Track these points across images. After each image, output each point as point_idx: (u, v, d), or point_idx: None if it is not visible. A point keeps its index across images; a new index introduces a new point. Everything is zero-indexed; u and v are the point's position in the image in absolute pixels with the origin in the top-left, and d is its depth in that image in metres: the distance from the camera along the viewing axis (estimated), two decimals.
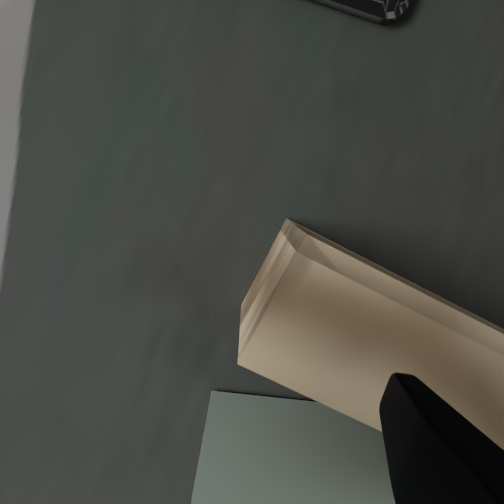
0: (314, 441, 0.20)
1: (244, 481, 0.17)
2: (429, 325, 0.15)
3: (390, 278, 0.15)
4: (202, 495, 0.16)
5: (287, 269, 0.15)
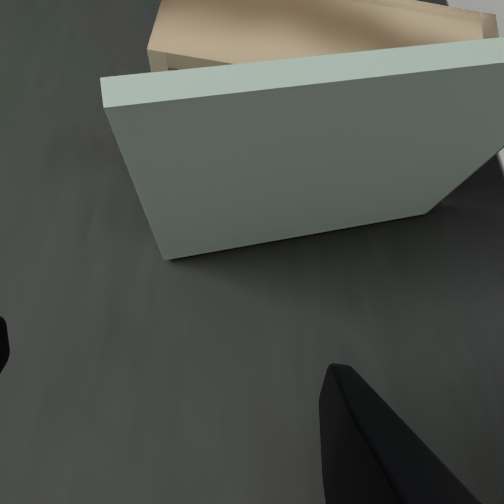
0: None
1: None
2: None
3: None
4: None
5: None
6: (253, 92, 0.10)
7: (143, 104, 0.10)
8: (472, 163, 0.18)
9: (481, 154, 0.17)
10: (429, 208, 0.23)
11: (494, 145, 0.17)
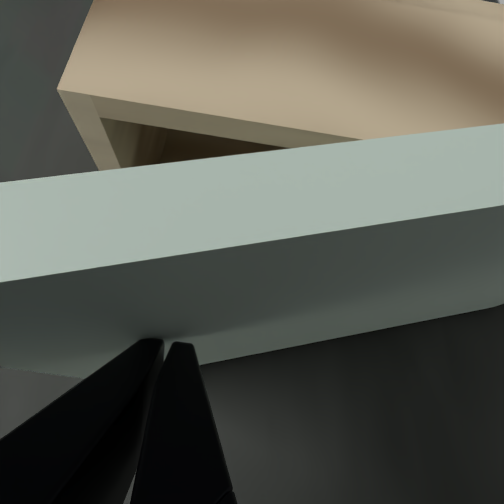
0: None
1: None
2: None
3: None
4: None
5: None
6: (214, 251, 0.04)
7: None
8: None
9: None
10: (502, 303, 0.16)
11: None
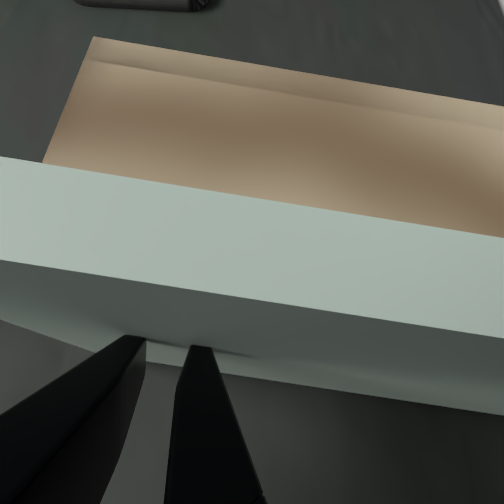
0: None
1: None
2: (324, 106, 0.10)
3: (237, 63, 0.10)
4: None
5: (75, 86, 0.09)
6: (149, 284, 0.03)
7: None
8: None
9: None
10: None
11: None
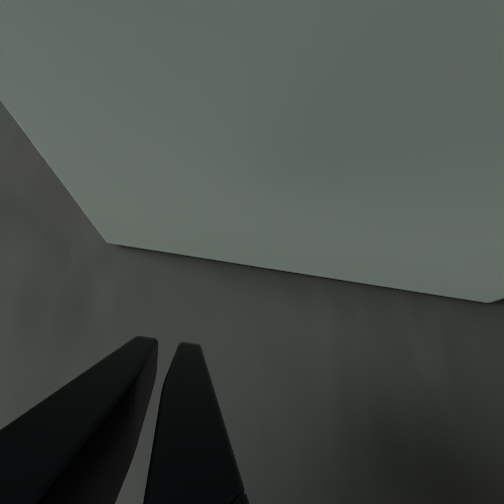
0: None
1: None
2: None
3: None
4: None
5: None
6: None
7: None
8: None
9: None
10: (497, 298, 0.15)
11: None
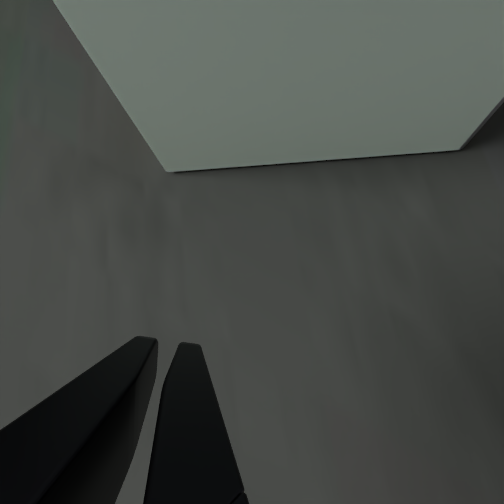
0: None
1: None
2: None
3: None
4: None
5: None
6: None
7: None
8: (502, 77, 0.15)
9: None
10: (461, 142, 0.20)
11: None
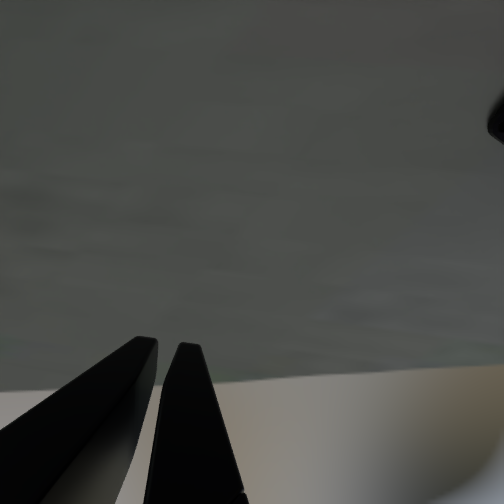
0: None
1: None
2: None
3: None
4: None
5: None
6: None
7: None
8: None
9: None
10: None
11: None
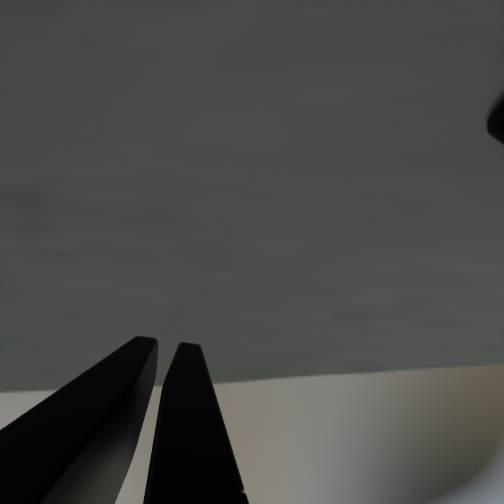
0: None
1: None
2: None
3: None
4: None
5: None
6: None
7: None
8: None
9: None
10: None
11: None
